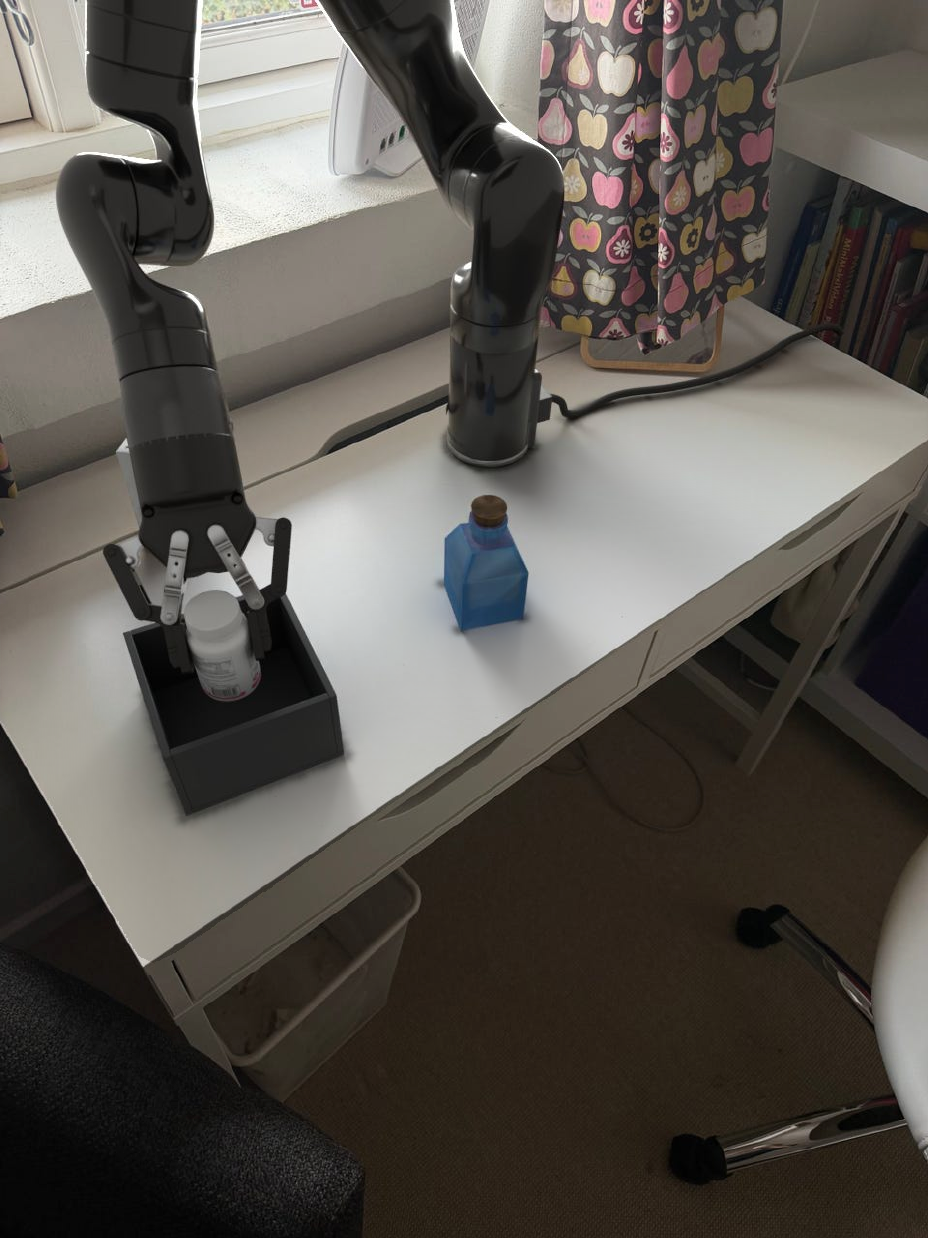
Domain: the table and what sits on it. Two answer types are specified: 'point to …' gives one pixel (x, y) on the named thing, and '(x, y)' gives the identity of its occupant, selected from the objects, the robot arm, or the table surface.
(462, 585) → the perfume bottle
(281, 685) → the open box
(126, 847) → the table surface
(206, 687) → the pill bottle
